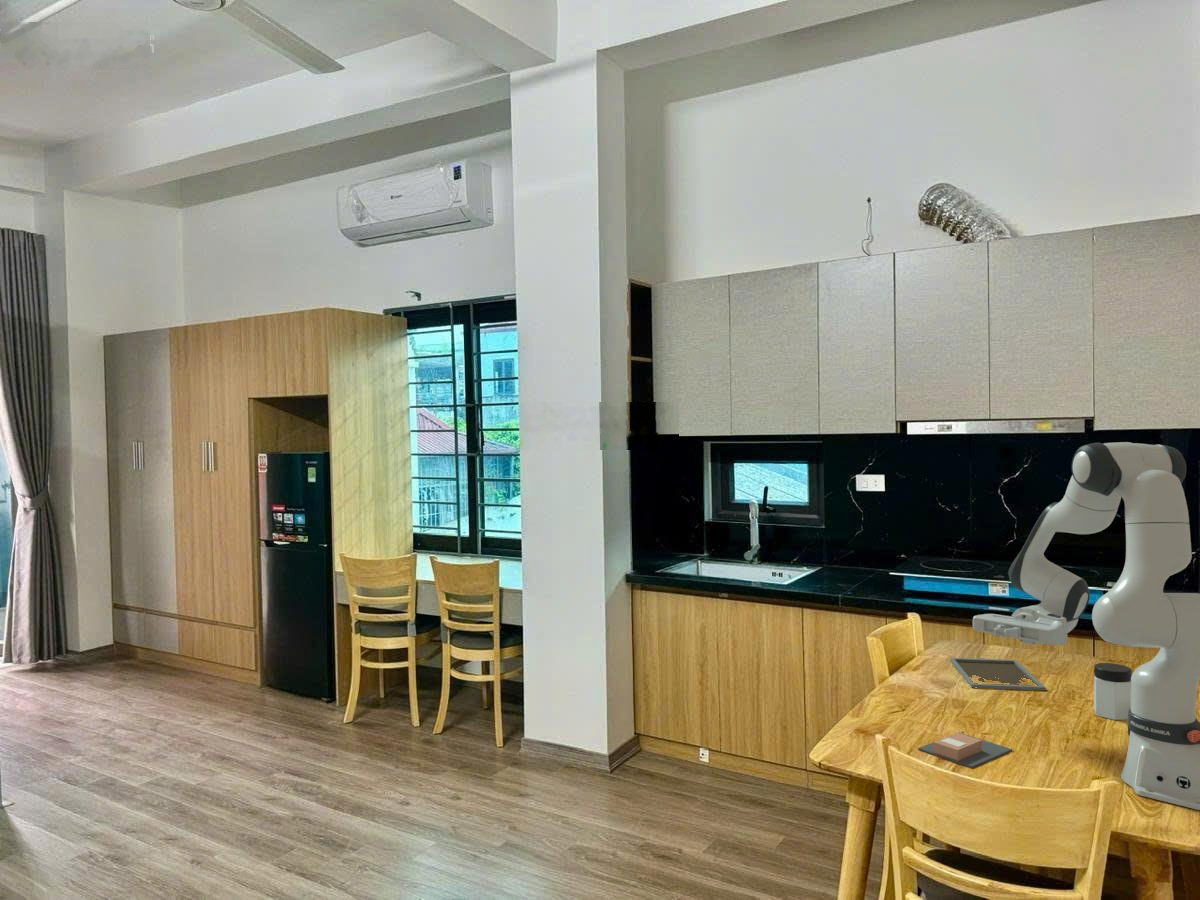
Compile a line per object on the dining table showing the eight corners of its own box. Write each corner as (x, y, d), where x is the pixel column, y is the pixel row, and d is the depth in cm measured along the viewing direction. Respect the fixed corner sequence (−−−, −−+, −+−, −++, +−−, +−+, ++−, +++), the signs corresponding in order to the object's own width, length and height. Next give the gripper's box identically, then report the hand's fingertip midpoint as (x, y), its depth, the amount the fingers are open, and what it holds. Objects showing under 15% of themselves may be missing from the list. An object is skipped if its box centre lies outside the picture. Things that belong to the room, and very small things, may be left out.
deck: (957, 732, 197) (932, 741, 192) (981, 739, 192) (957, 749, 187) (957, 742, 197) (932, 752, 192) (981, 750, 192) (957, 761, 187)
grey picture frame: (971, 684, 238) (947, 655, 267) (971, 690, 238) (947, 660, 268) (1046, 687, 235) (1014, 657, 264) (1046, 693, 235) (1014, 662, 264)
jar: (1117, 708, 220) (1118, 661, 219) (1141, 719, 212) (1141, 671, 211) (1084, 710, 219) (1085, 663, 219) (1106, 721, 211) (1107, 672, 211)
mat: (1012, 750, 193) (1012, 749, 193) (971, 768, 184) (971, 766, 184) (958, 734, 204) (958, 732, 204) (918, 749, 195) (918, 748, 195)
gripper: (990, 605, 217) (958, 612, 209) (1073, 618, 201) (1042, 627, 193) (990, 630, 218) (958, 638, 209) (1073, 645, 201) (1042, 655, 193)
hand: (999, 633), depth 201 cm, fingers closed
